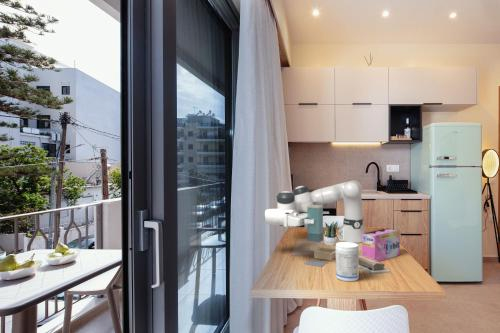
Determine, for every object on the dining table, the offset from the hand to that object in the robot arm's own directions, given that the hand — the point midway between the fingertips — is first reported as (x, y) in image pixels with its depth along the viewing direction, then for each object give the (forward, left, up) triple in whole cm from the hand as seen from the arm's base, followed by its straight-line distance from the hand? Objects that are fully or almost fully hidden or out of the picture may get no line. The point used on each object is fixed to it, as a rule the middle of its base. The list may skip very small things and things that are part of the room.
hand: (316, 220), depth 159 cm
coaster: (0, -1, -22) cm, 22 cm away
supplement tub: (+21, +7, -22) cm, 31 cm away
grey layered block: (+8, +23, -22) cm, 33 cm away
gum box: (-8, +38, -22) cm, 44 cm away
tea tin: (-1, -1, -10) cm, 10 cm away
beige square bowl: (-10, +8, -22) cm, 25 cm away
